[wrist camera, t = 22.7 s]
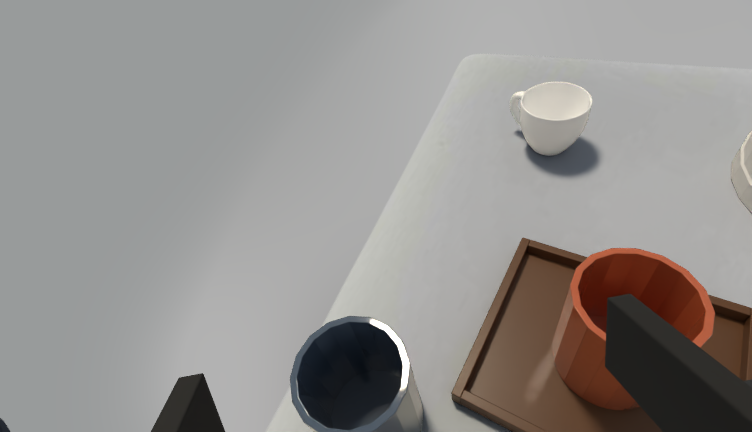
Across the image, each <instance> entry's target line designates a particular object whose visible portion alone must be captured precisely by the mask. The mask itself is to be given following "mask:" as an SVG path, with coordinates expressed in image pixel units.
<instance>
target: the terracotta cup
mask: <svg viewBox="0 0 752 432" xmlns="http://www.w3.org/2000/svg"><path fill="white" fill-rule="evenodd" d="M625 294H632V295H633V296H634V297H636V298H637V299H638V300H639V301H641V302H642V303H643V304H645V305H646V306H647V307H648V308H650V309H651V310H652V311H654V312H655V313H656V314H657V315H659V316H660V317H661V318H663V319H664V320H665V321H666V322H668V323H669V324H670V325H672V326H673V327H674V328H675V329H677V330H678V331H679V332H681V333H682V334H683V335H684V336H686V337H687V338H688V339H690V340H691V341H692V342H694V343H695V344H696V345H697V346H699V347H700V348H701V347H702V346H703V344H704V343H705V342H706V341H707V340H708V339H709V338H710V337H711V336H712V334H713V326H714V318H715V311H714V308H713V306H712V304H711V301H710V299H709V296H708V294H707V291H706V290H705V288H704V287H703V286H702V285H701V284H700V283H699V282H698V281H697V280H696V279H695V278H694V277H693V276H692V275H691V273H690V272H689V271H687V270H686V269H685V268H683V267H681V266H679V265H678V264H676V263H674V262H673V261H671V260H669V259H668V258H666V257H664V256H662V255H658V254H655V253H651V252H648V251H644V250H641V249H636V248H611V249H608V250H605V251H602V252H598V253H595V254H592V255H590V256H589V257H588V258H587V259H586V260H585V261H583V262H582V263H581V264H580V265H579V266H578V267H577V268H576V270H575V273H574V276H573V278H572V281H571V284H570V287H569V290H568V294H567V297H566V300H565V303H564V306H563V309H562V313H561V316H560V319H559V322H558V325H557V328H556V332H555V335H554V338H553V341H552V357H553V361H554V364H555V367H556V369H557V371H558V373H559V375H560V377H561V378H562V380H563V381H564V382H565V383H566V385H567V386H568V387H569V388H570V389H571V390H572V391H573V392H575V393H576V394H577V395H578V396H580V397H581V398H583V399H584V400H586V401H588V402H590V403H592V404H594V405H597V406H599V407H603V408H606V409H612V410H630V409H634V408H638V407H640V405H639V404H638V403H637V402H636V401H635V400H634V399H633V398H632V396H631V395H630V394H629V393H628V392H627V391H626V390H625V389H624V387H623V386H622V385H621V384H620V383H619V382H618V381H617V380H616V378H615V377H614V376H613V375H612V374H611V373H610V372H609V371H608V369H607V368H606V367H605V349H606V322H607V298H609V297H615V296H620V295H625Z"/></svg>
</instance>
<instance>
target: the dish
mask: <svg viewBox="0 0 752 432" xmlns="http://www.w3.org/2000/svg"><path fill="white" fill-rule="evenodd" d="M731 180H732V182H733V185H734V187H735V189H736V192H737V194H738V197H739V199H740V200H741V201H742V202H743V203H744V205H745V206H746V207H747V208H748V209H749V210H750V212H751V213H752V131H751V132H750V133H749V134H748V136H747V138H746V139H745V141H744V143H743V144H742V146H741V148H740V149H739V151H738V153H737V154H736V156H735V158H734V159H733V161H732V172H731Z"/></svg>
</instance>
